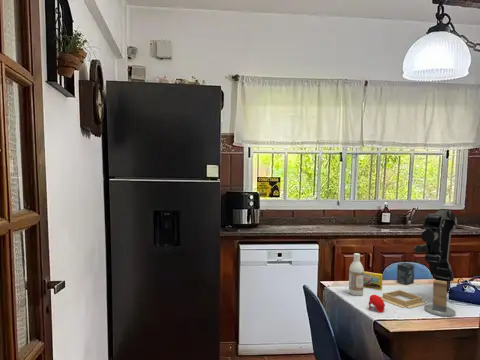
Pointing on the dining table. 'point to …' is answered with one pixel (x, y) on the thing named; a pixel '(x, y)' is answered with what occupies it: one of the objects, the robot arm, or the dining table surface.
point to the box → (405, 273)
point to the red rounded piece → (376, 303)
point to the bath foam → (356, 276)
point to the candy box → (373, 280)
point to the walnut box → (440, 295)
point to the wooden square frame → (409, 304)
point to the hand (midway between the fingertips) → (432, 272)
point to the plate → (430, 310)
